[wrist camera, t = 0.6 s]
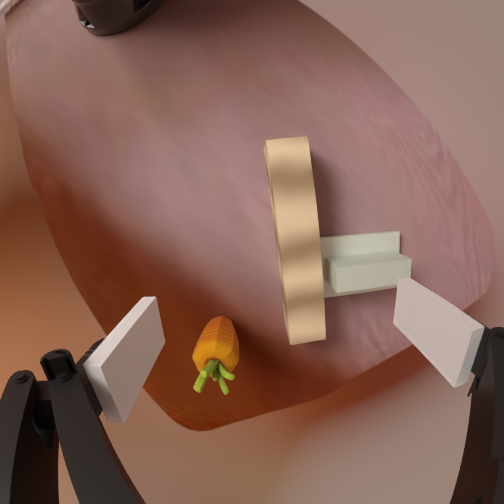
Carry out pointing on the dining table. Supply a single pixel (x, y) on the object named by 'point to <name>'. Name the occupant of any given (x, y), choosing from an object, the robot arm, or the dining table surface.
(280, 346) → the dining table surface
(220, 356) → the carrot
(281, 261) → the birch bar
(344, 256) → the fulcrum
